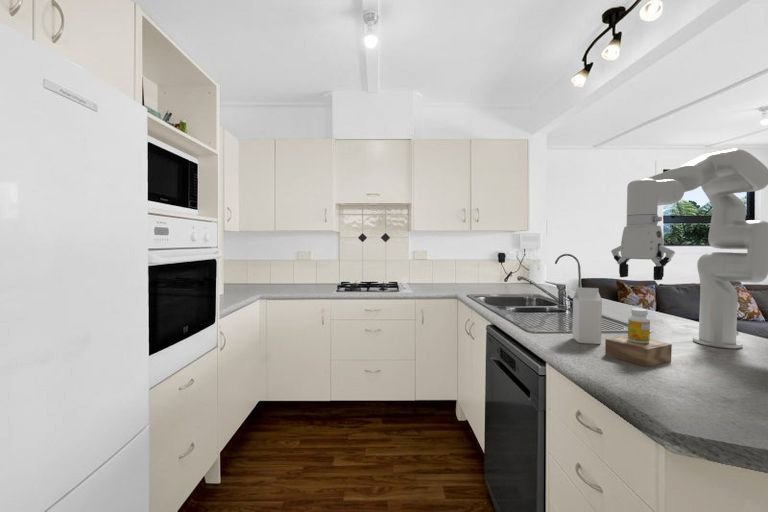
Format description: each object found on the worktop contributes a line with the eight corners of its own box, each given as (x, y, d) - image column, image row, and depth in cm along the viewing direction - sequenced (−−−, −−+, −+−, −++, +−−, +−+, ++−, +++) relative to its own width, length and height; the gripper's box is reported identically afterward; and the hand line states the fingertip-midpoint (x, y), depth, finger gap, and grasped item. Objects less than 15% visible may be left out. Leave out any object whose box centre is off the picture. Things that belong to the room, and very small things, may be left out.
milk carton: (601, 344, 124) (602, 289, 123) (578, 343, 126) (579, 289, 125) (593, 339, 131) (594, 287, 130) (572, 338, 133) (573, 286, 132)
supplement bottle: (623, 339, 112) (624, 307, 112) (639, 338, 112) (640, 307, 112) (636, 343, 107) (637, 311, 106) (654, 343, 107) (655, 311, 107)
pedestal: (629, 350, 118) (629, 334, 118) (671, 361, 107) (671, 344, 107) (605, 354, 113) (605, 338, 113) (646, 366, 102) (647, 349, 102)
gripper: (682, 220, 102) (680, 280, 103) (620, 223, 118) (619, 275, 119) (666, 219, 99) (665, 281, 100) (605, 222, 115) (604, 276, 115)
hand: (640, 278), depth 109 cm, fingers open, 9 cm apart
